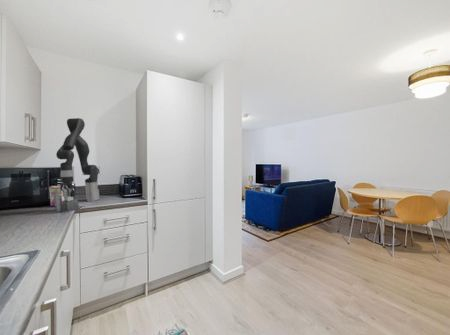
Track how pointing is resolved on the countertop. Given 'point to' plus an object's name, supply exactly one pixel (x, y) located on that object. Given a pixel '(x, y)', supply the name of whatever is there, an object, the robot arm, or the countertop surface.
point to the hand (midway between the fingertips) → (68, 196)
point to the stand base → (69, 206)
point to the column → (67, 195)
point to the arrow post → (57, 201)
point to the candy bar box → (51, 192)
